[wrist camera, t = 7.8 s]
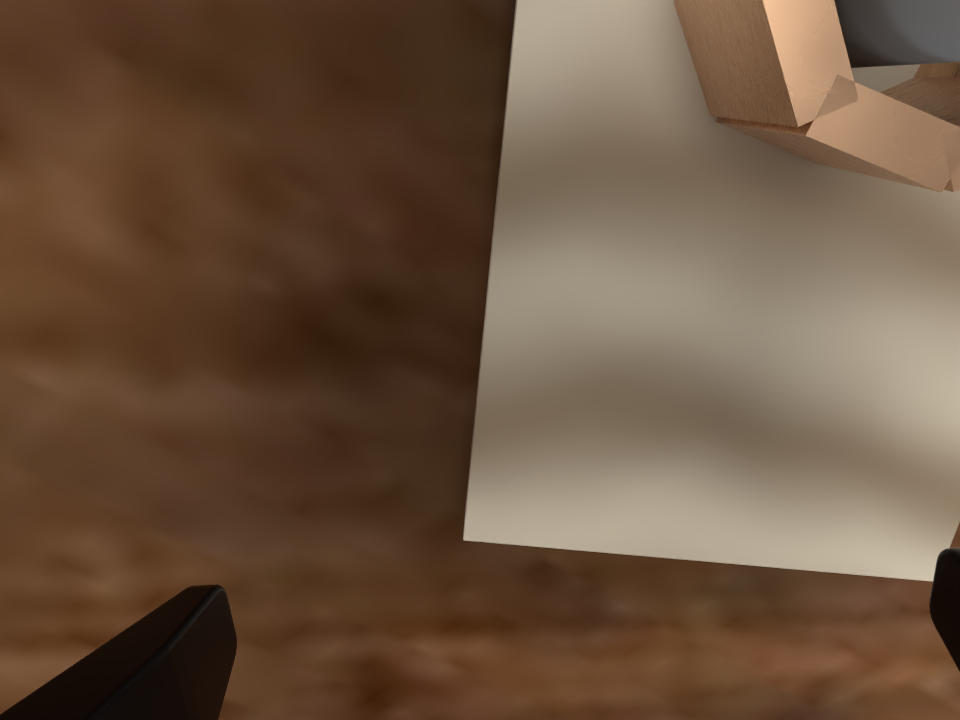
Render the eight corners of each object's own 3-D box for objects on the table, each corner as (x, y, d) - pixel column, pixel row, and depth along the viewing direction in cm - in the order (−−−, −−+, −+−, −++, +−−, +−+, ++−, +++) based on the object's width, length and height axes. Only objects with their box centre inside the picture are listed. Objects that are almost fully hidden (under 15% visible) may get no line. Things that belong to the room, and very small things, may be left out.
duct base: (908, 550, 22) (1064, 723, 16) (465, 511, 22) (454, 673, 16) (1199, -231, 15) (1681, -448, 9) (545, -303, 15) (583, -576, 9)
